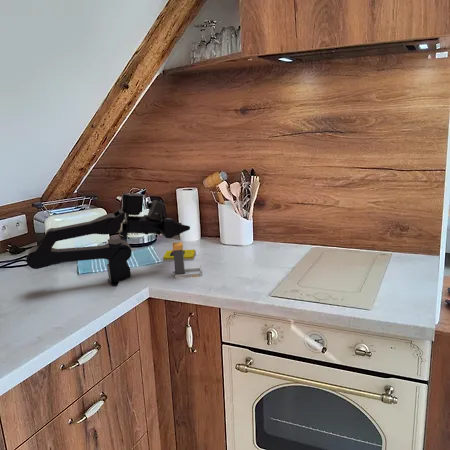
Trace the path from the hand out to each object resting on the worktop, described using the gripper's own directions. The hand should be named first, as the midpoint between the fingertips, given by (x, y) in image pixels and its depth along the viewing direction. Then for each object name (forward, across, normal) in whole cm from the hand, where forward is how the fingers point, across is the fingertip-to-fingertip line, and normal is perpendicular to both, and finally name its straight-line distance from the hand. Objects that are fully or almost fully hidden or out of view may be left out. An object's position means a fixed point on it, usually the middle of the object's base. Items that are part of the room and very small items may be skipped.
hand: (185, 226), depth 161 cm
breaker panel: (-1, -7, +17) cm, 18 cm away
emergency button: (+3, +13, +15) cm, 20 cm away
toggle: (-3, -6, +16) cm, 17 cm away
